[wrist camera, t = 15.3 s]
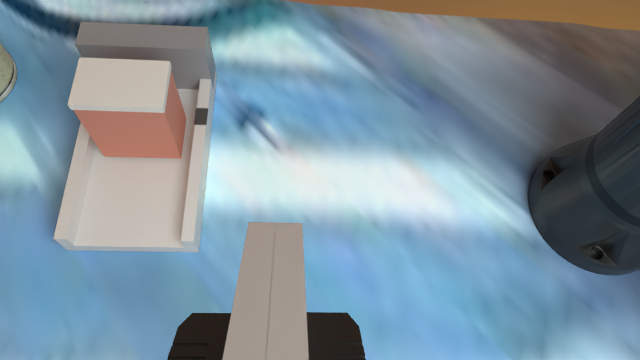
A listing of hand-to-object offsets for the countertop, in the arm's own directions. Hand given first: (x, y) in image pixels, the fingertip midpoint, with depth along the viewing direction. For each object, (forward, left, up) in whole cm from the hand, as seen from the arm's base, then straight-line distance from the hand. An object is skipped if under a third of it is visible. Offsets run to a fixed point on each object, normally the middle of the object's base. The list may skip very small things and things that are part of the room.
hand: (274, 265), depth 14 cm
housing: (+6, -26, -36) cm, 45 cm away
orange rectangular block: (+6, -27, -34) cm, 44 cm away
